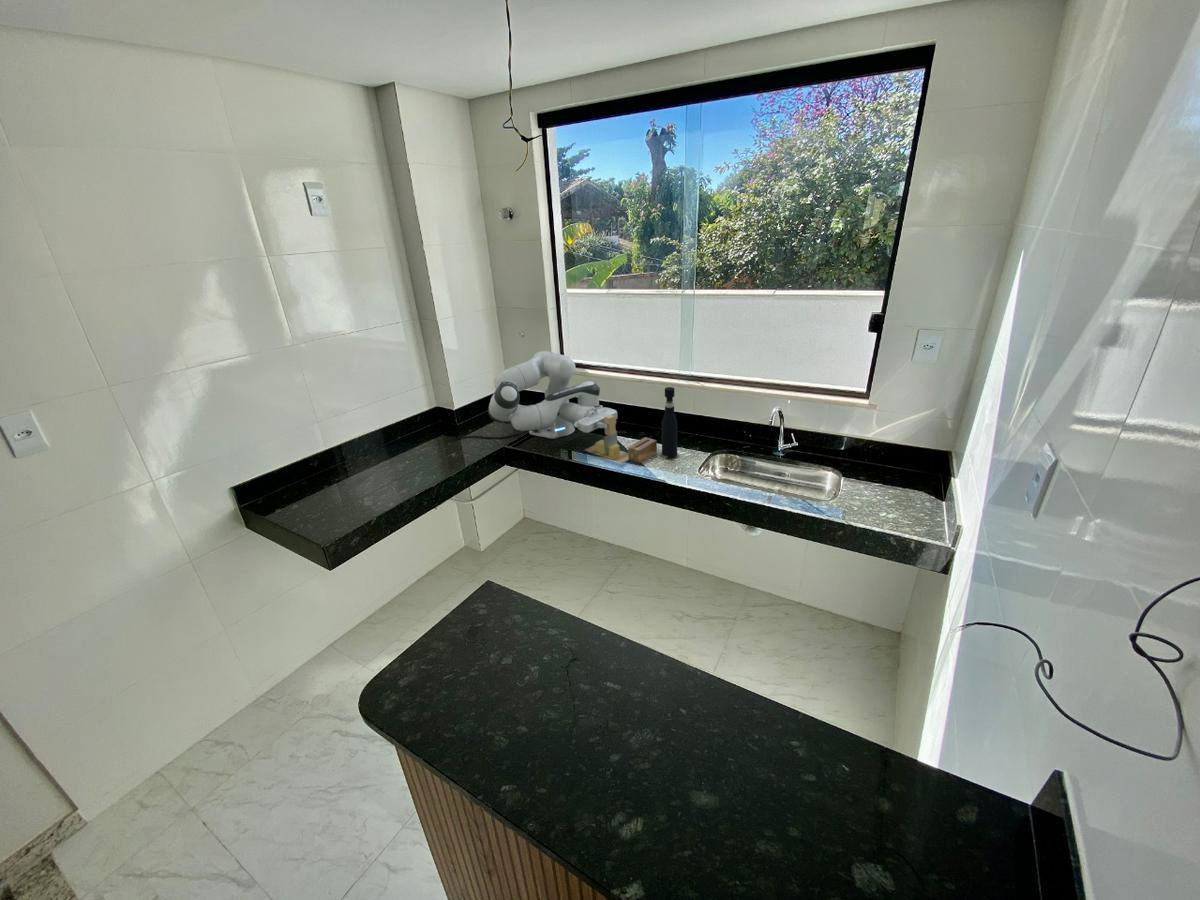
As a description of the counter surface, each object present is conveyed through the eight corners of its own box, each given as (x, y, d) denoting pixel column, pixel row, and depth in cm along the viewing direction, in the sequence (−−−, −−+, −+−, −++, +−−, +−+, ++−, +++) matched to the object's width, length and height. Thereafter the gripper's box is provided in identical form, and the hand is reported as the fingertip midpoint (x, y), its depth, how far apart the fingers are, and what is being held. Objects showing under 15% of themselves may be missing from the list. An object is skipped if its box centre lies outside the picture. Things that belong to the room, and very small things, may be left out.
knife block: (628, 461, 204) (627, 446, 201) (645, 451, 212) (645, 437, 209) (639, 465, 201) (639, 450, 197) (656, 455, 208) (656, 440, 205)
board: (584, 452, 215) (584, 450, 215) (597, 445, 221) (597, 442, 220) (622, 465, 201) (622, 463, 201) (635, 457, 207) (635, 455, 207)
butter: (595, 451, 213) (595, 442, 211) (602, 447, 216) (602, 439, 214) (605, 454, 209) (605, 446, 207) (612, 450, 212) (612, 442, 210)
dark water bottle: (659, 454, 208) (658, 388, 195) (671, 450, 211) (671, 384, 198) (667, 460, 203) (667, 392, 190) (680, 456, 206) (680, 389, 192)
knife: (602, 453, 207) (600, 418, 200) (614, 446, 213) (612, 412, 206) (607, 455, 205) (605, 420, 198) (620, 448, 211) (618, 414, 204)
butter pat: (608, 455, 208) (608, 447, 206) (615, 451, 211) (615, 443, 209) (613, 457, 207) (612, 448, 205) (619, 453, 209) (619, 444, 208)
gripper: (570, 418, 203) (594, 425, 195) (602, 403, 217) (626, 410, 208) (571, 431, 206) (595, 439, 198) (603, 416, 219) (626, 423, 211)
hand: (611, 424), depth 203 cm, fingers closed on knife, 3 cm apart
